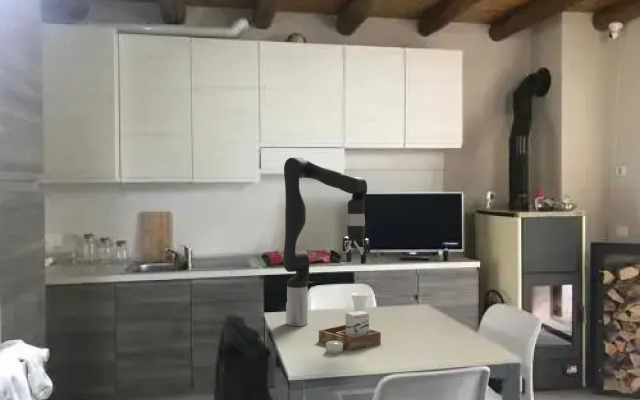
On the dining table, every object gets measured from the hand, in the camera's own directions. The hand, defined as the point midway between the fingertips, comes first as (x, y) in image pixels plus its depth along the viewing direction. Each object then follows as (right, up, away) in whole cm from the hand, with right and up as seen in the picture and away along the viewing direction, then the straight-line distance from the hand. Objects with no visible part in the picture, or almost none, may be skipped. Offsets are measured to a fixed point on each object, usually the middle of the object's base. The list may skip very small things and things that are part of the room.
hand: (356, 262), depth 243 cm
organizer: (-3, -30, -13) cm, 33 cm away
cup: (+4, -30, +39) cm, 49 cm away
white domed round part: (-10, -31, -26) cm, 42 cm away
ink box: (0, -30, -14) cm, 33 cm away
